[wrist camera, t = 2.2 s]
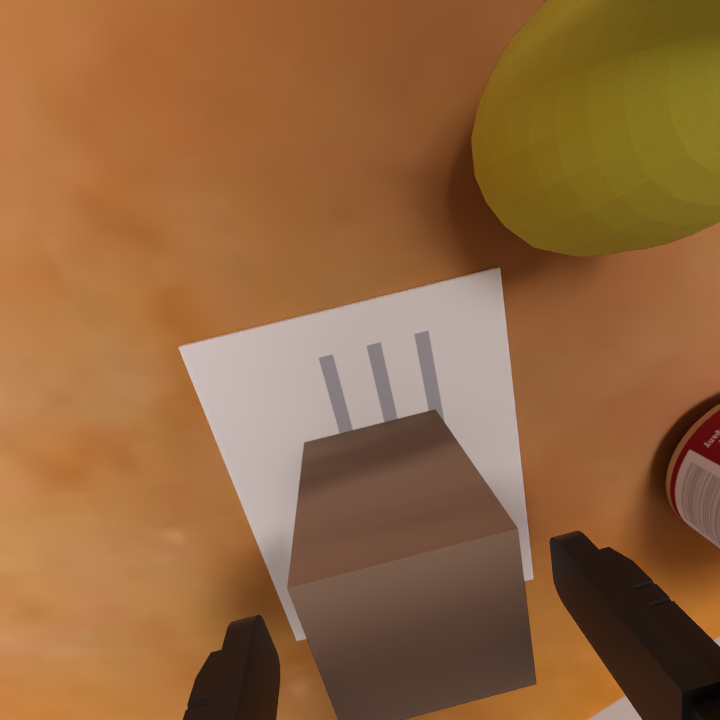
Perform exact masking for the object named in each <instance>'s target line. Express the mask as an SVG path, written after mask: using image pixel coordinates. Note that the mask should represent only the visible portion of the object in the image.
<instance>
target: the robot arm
mask: <svg viewBox="0 0 720 720" xmlns="http://www.w3.org/2000/svg"><path fill="white" fill-rule="evenodd" d="M550 550H551V560H552V571H553V580H554V584H555V587H556V590H557V592H558V595H559V597H560V599H561V601H562V602H563V604H564V606H565V607H566V609H567V610H568V612H569V613H570V615H571V616H572V618H573V619H574V620H575V622H576V623H577V625H578V626H579V628H580V629H581V631H582V632H583V634H584V635H585V637H586V638H587V639H588V641H589V642H590V644H591V645H592V647H593V648H594V650H595V651H596V653H597V654H598V656H599V657H600V658H601V660H602V661H603V663H604V664H605V666H606V667H607V669H608V670H609V672H610V673H611V674H612V676H613V677H614V679H615V680H616V682H617V683H618V685H619V686H620V688H621V689H622V691H623V692H624V693H625V695H626V696H627V698H628V699H629V701H630V702H631V704H632V705H633V707H634V708H635V710H636V711H637V712H638V714H639V715H640V717H641V718H642V720H720V647H719V646H718V645H717V644H716V643H715V642H714V641H713V640H712V639H711V638H710V637H709V636H708V635H707V634H706V633H705V632H704V631H703V630H702V629H701V628H700V627H699V626H698V625H697V624H696V623H695V622H694V621H693V620H692V619H691V618H690V617H689V616H688V615H687V614H686V613H685V612H684V611H683V610H682V609H681V608H680V607H679V606H678V605H677V604H676V603H675V602H674V601H671V600H670V598H669V596H668V595H667V594H666V593H665V592H664V591H663V590H662V589H661V588H660V587H659V586H658V585H657V584H654V583H653V581H652V579H651V578H650V577H649V576H648V575H647V574H645V573H644V572H643V571H642V570H641V569H640V568H639V567H638V566H637V565H636V564H635V563H634V562H633V561H632V560H630V559H629V558H627V557H625V556H623V555H622V554H620V553H618V552H617V551H615V550H613V549H612V548H610V547H607V548H603V549H598V548H597V547H596V546H595V545H594V544H593V543H592V542H591V541H590V540H589V539H588V538H587V537H586V536H585V535H584V534H583V533H582V532H580V531H575V532H571V533H567V534H563V535H560V536H556V537H552V538H551V539H550ZM279 687H280V663H279V657H278V654H277V651H276V649H275V646H274V644H273V641H272V639H271V637H270V634H269V632H268V630H267V627H266V625H265V623H264V620H263V618H262V616H261V615H256V616H252V617H248V618H245V619H241V620H237V621H233V622H231V623H230V624H229V626H228V628H227V631H226V635H225V639H224V643H223V647H222V650H219V651H215V652H211V653H210V655H209V657H208V658H207V660H206V662H205V663H204V665H203V667H202V668H201V670H200V672H199V673H198V675H197V677H196V679H195V682H194V685H193V689H192V692H191V695H190V698H189V701H188V709H187V710H186V711H185V714H184V718H183V720H276V715H277V706H278V696H279Z"/></svg>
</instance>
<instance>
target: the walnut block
mask: <svg viewBox="0 0 720 720" xmlns="http://www.w3.org/2000/svg"><path fill="white" fill-rule="evenodd" d="M287 590H288V592H289V595H290V597H291V600H292V603H293V605H294V608H295V610H296V613H297V615H298V618H299V620H300V623H301V626H302V628H303V631H304V633H305V636H306V638H307V641H308V644H309V646H310V649H311V651H312V654H313V656H314V659H315V661H316V664H317V667H318V669H319V672H320V674H321V677H322V679H323V682H324V685H325V687H326V690H327V692H328V695H329V697H330V700H331V702H332V705H333V708H334V710H335V713H336V715H337V718H338V720H404V719H408V718H411V717H415V716H419V715H423V714H426V713H430V712H434V711H437V710H441V709H445V708H449V707H452V706H456V705H460V704H464V703H467V702H471V701H475V700H478V699H482V698H486V697H490V696H493V695H497V694H501V693H504V692H508V691H512V690H516V689H519V688H523V687H527V686H531V685H534V684H536V675H535V667H534V659H533V650H532V642H531V633H530V625H529V616H528V608H527V600H526V591H525V583H524V574H523V566H522V557H521V549H520V541H519V532H518V528H517V526H516V525H515V523H514V522H513V520H512V519H511V518H510V516H509V515H508V513H507V512H506V510H505V509H504V507H503V506H502V505H501V503H500V502H499V500H498V499H497V497H496V496H495V494H494V493H493V492H492V490H491V489H490V487H489V486H488V484H487V483H486V481H485V480H484V479H483V477H482V476H481V474H480V473H479V471H478V470H477V468H476V467H475V466H474V464H473V463H472V461H471V460H470V458H469V457H468V455H467V454H466V453H465V451H464V450H463V448H462V447H461V445H460V444H459V442H458V441H457V440H456V438H455V437H454V435H453V434H452V432H451V431H450V429H449V428H448V427H447V425H446V424H445V422H444V421H443V419H442V418H441V416H440V415H439V414H438V412H437V411H436V409H435V410H431V411H427V412H423V413H419V414H415V415H411V416H407V417H403V418H399V419H395V420H391V421H387V422H383V423H379V424H375V425H371V426H367V427H364V428H360V429H356V430H352V431H348V432H344V433H340V434H336V435H332V436H328V437H324V438H320V439H316V440H312V441H308V442H304V448H303V456H302V465H301V473H300V482H299V491H298V499H297V508H296V516H295V525H294V533H293V542H292V551H291V559H290V568H289V576H288V585H287Z"/></svg>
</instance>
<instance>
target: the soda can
mask: <svg viewBox="0 0 720 720" xmlns="http://www.w3.org/2000/svg"><path fill="white" fill-rule="evenodd" d="M666 494H667V499H668V502H669V504H670V506H671V508H672V510H673V511H674V513H675V514H676V515H677V517H678V518H679V519H680V520H682V521H683V522H684V523H686V524H687V525H688V526H690V527H691V528H692V529H693V530H695V531H696V532H697V533H699V534H700V535H701V536H703V537H704V538H705V539H707V540H708V541H709V542H711V543H712V544H713V545H715V546H716V547H717V548H719V549H720V404H718V405H717V406H715V407H714V408H712V409H711V410H709V411H708V412H707V413H705V414H704V415H703V416H702V417H701V418H700V419H698V420H697V421H696V422H695V423H694V424H693V425H692V427H691V428H690V429H689V430H688V431H687V432H686V434H685V435H684V436H683V438H682V439H681V441H680V442H679V444H678V445H677V447H676V449H675V451H674V453H673V455H672V457H671V460H670V463H669V466H668V469H667V474H666Z"/></svg>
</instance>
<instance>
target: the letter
mask: <svg viewBox="0 0 720 720" xmlns="http://www.w3.org/2000/svg"><path fill="white" fill-rule="evenodd" d="M178 348H179V351H180V353H181V356H182V358H183V361H184V363H185V366H186V368H187V371H188V373H189V376H190V378H191V380H192V383H193V385H194V388H195V390H196V393H197V395H198V398H199V400H200V403H201V405H202V408H203V410H204V413H205V415H206V418H207V420H208V423H209V425H210V428H211V430H212V433H213V435H214V437H215V440H216V442H217V445H218V447H219V450H220V452H221V455H222V457H223V460H224V462H225V465H226V467H227V470H228V472H229V475H230V477H231V480H232V482H233V485H234V487H235V490H236V492H237V494H238V497H239V499H240V502H241V504H242V507H243V509H244V512H245V514H246V517H247V519H248V522H249V524H250V527H251V529H252V532H253V534H254V537H255V539H256V542H257V544H258V547H259V549H260V552H261V554H262V556H263V559H264V561H265V564H266V566H267V569H268V571H269V574H270V576H271V579H272V581H273V584H274V586H275V589H276V591H277V594H278V596H279V599H280V601H281V604H282V606H283V609H284V611H285V613H286V616H287V618H288V621H289V623H290V626H291V628H292V631H293V633H294V636H295V638H296V641H300V640H304V639H307V638H306V636H305V633H304V631H303V628H302V626H301V623H300V620H299V618H298V615H297V613H296V610H295V608H294V605H293V603H292V600H291V597H290V595H289V592H288V590H287V585H288V576H289V568H290V559H291V551H292V542H293V533H294V525H295V516H296V508H297V499H298V491H299V482H300V473H301V465H302V456H303V448H304V442H308V441H312V440H316V439H320V438H324V437H328V436H332V435H336V434H340V433H344V432H348V431H352V430H356V429H360V428H364V427H367V426H371V425H375V424H379V423H383V422H387V421H391V420H395V419H399V418H403V417H407V416H411V415H415V414H419V413H423V412H427V411H431V410H435V409H436V411H437V412H438V414H439V415H440V416H441V418H442V419H443V421H444V422H445V424H446V425H447V427H448V428H449V429H450V431H451V432H452V434H453V435H454V437H455V438H456V440H457V441H458V442H459V444H460V445H461V447H462V448H463V450H464V451H465V453H466V454H467V455H468V457H469V458H470V460H471V461H472V463H473V464H474V466H475V467H476V468H477V470H478V471H479V473H480V474H481V476H482V477H483V479H484V480H485V481H486V483H487V484H488V486H489V487H490V489H491V490H492V492H493V493H494V494H495V496H496V497H497V499H498V500H499V502H500V503H501V505H502V506H503V507H504V509H505V510H506V512H507V513H508V515H509V516H510V518H511V519H512V520H513V522H514V523H515V525H516V526H517V528H518V532H519V541H520V549H521V557H522V566H523V574H524V581H528V580H532V579H534V577H533V568H532V558H531V549H530V540H529V531H528V521H527V512H526V503H525V493H524V484H523V475H522V466H521V456H520V447H519V438H518V429H517V419H516V410H515V401H514V391H513V382H512V373H511V364H510V354H509V345H508V336H507V326H506V317H505V308H504V299H503V289H502V280H501V271H500V268H492V269H488V270H484V271H480V272H476V273H472V274H468V275H464V276H460V277H456V278H452V279H448V280H444V281H440V282H436V283H432V284H428V285H424V286H419V287H415V288H411V289H407V290H403V291H399V292H395V293H391V294H387V295H383V296H379V297H375V298H371V299H367V300H363V301H359V302H355V303H350V304H346V305H342V306H338V307H334V308H330V309H326V310H322V311H318V312H314V313H310V314H306V315H302V316H298V317H294V318H290V319H286V320H282V321H277V322H273V323H269V324H265V325H261V326H257V327H253V328H249V329H245V330H241V331H237V332H233V333H229V334H225V335H221V336H217V337H213V338H208V339H204V340H200V341H196V342H192V343H188V344H184V345H181V346H180V347H178Z"/></svg>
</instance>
